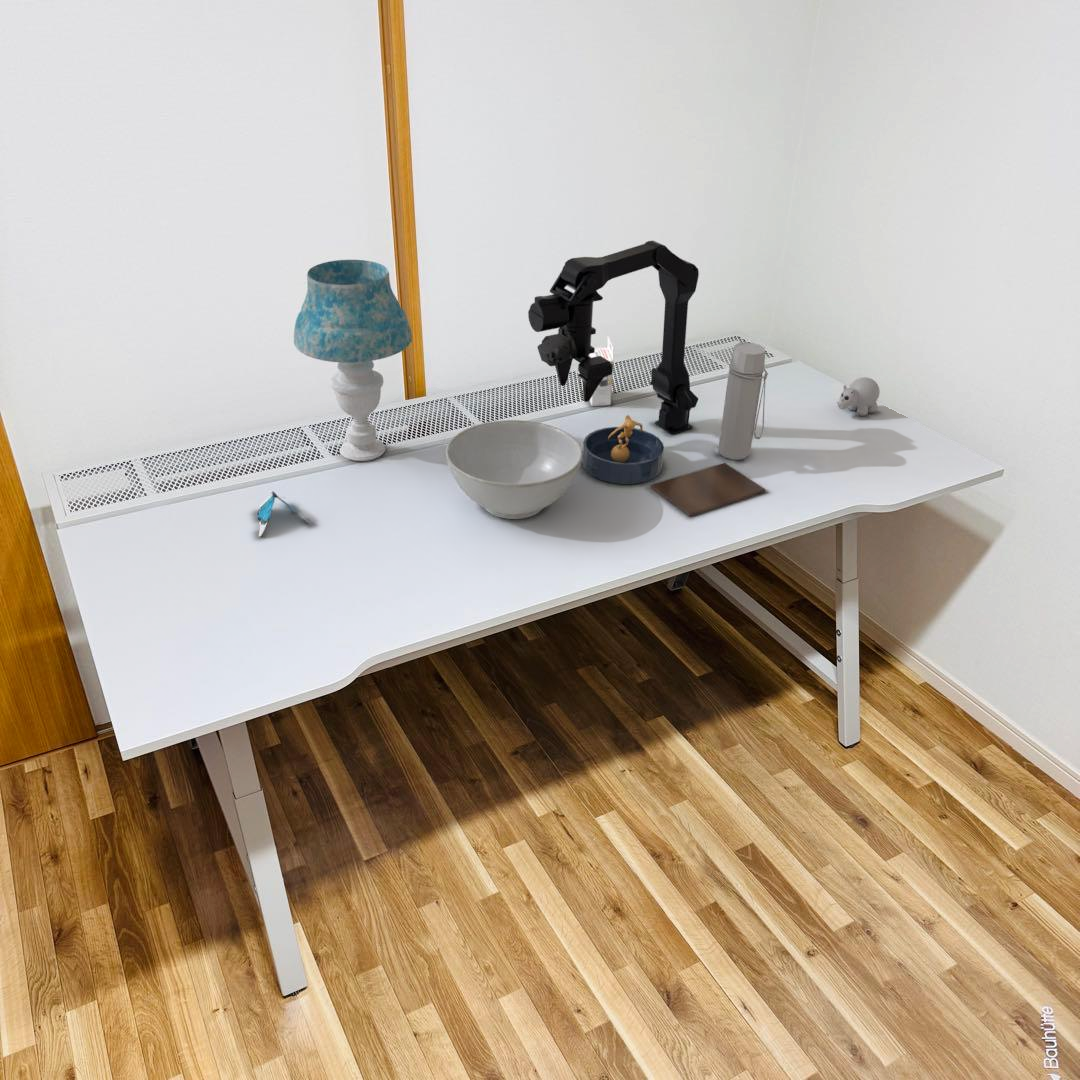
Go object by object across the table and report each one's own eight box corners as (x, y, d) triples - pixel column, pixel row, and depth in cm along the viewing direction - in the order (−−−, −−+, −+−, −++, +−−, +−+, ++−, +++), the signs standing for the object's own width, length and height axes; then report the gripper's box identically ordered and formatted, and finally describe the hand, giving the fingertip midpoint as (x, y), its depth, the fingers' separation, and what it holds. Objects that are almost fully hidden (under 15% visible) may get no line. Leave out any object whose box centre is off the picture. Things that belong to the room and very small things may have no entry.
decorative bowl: (516, 458, 215) (517, 408, 208) (607, 505, 199) (611, 452, 193) (420, 500, 199) (417, 447, 192) (510, 555, 183) (511, 500, 177)
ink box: (585, 391, 245) (588, 335, 237) (605, 391, 246) (609, 334, 238) (590, 406, 238) (594, 349, 230) (611, 406, 238) (615, 348, 230)
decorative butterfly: (294, 482, 196) (306, 493, 188) (299, 512, 198) (312, 525, 190) (242, 493, 192) (253, 505, 184) (249, 524, 194) (260, 537, 186)
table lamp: (405, 421, 229) (395, 249, 207) (428, 470, 210) (420, 286, 188) (300, 434, 222) (279, 258, 200) (315, 485, 203) (293, 296, 181)
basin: (630, 440, 224) (632, 420, 221) (677, 473, 211) (680, 452, 209) (567, 457, 216) (568, 437, 213) (611, 492, 204) (613, 471, 201)
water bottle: (713, 458, 217) (727, 351, 204) (721, 443, 223) (736, 338, 210) (754, 466, 215) (772, 359, 201) (761, 451, 221) (779, 345, 207)
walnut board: (724, 465, 215) (724, 462, 214) (764, 492, 205) (765, 489, 205) (650, 488, 206) (650, 484, 205) (689, 517, 196) (689, 513, 196)
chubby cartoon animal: (823, 412, 239) (830, 379, 234) (859, 402, 244) (866, 370, 239) (845, 423, 233) (852, 390, 229) (881, 413, 239) (889, 381, 234)
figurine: (631, 454, 217) (635, 404, 211) (645, 466, 213) (650, 416, 206) (598, 461, 214) (601, 411, 208) (612, 474, 210) (615, 423, 203)
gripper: (520, 315, 204) (519, 384, 212) (569, 345, 191) (566, 418, 199) (566, 306, 209) (563, 374, 217) (616, 335, 196) (611, 407, 204)
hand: (574, 393), depth 209 cm, fingers open, 9 cm apart
